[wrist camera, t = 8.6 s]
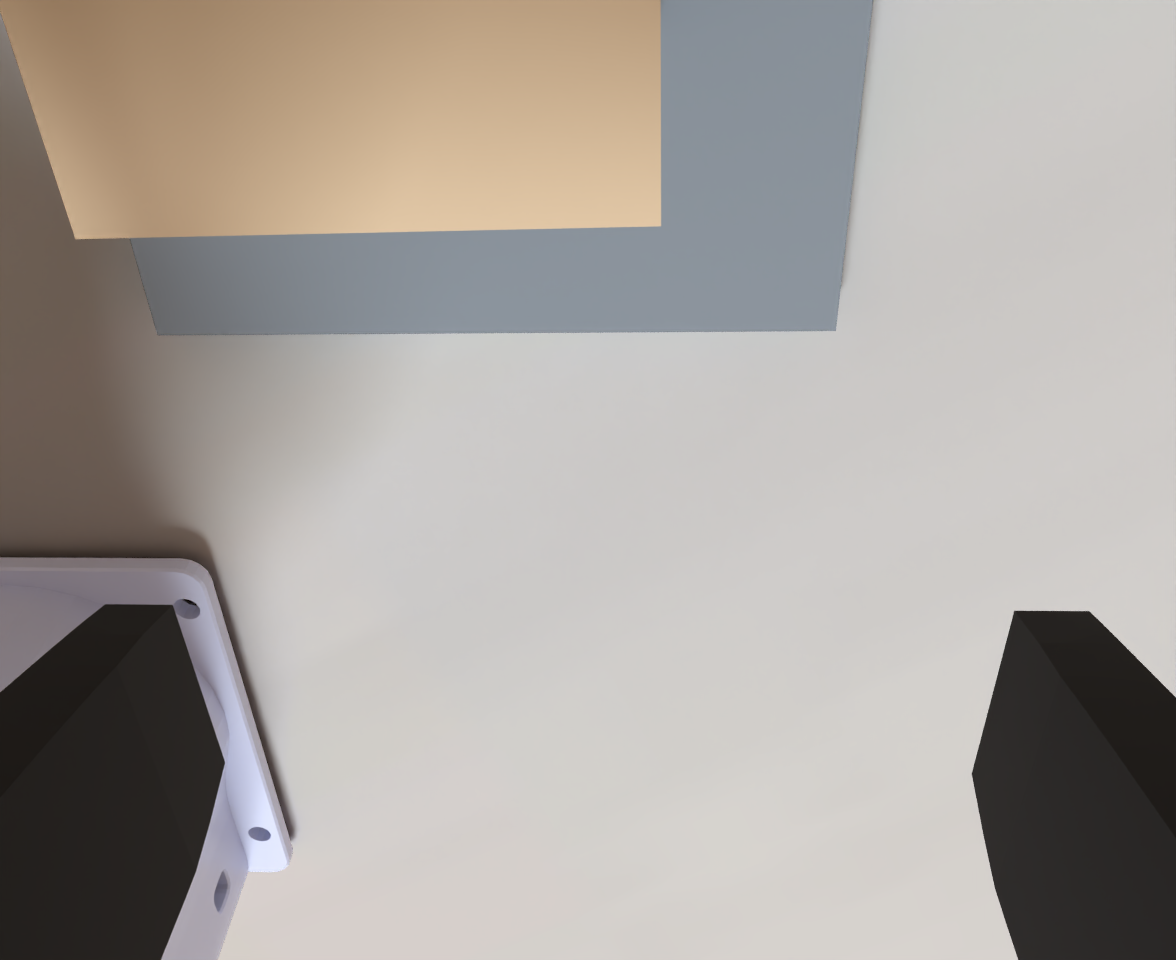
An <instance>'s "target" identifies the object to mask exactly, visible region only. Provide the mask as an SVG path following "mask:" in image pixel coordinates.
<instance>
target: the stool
mask: <svg viewBox="0 0 1176 960" xmlns="http://www.w3.org/2000/svg"><path fill="white" fill-rule="evenodd" d="M0 12H1V15H2V18H3V21H4V24H5V27H6V31H7V34H8V37H9V40H10V43H11V46H12V49H13V52H14V55H15V58H16V61H17V64H18V67H19V70H20V73H21V76H22V79H23V82H24V85H25V88H26V91H27V94H28V97H29V100H30V103H31V106H32V109H33V112H34V115H35V118H36V121H37V124H38V127H39V130H40V133H41V137H42V140H43V143H44V146H45V149H46V152H47V155H48V158H49V161H50V164H51V167H52V170H53V173H54V176H55V179H56V182H57V185H58V188H59V191H60V194H61V197H62V200H63V203H64V206H65V209H66V212H67V215H68V218H69V221H70V224H71V227H72V230H73V233H74V236H75V239H105V238H151V237H196V236H242V235H288V234H333V233H379V232H425V231H470V230H516V229H562V228H608V227H653V226H661V0H0Z"/></svg>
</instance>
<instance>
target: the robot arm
mask: <svg viewBox="0 0 1176 960" xmlns="http://www.w3.org/2000/svg"><path fill="white" fill-rule="evenodd" d="M183 599H187V600H191V601H193V602H194V603H196V604H197V605H198V606H195V605H190V604H188V603H187V602H185V601H184V600H183ZM972 777H973V782H974V787H975V793H976V798H977V803H978V808H979V814H980V819H981V824H982V829H983V834H984V839H985V844H986V848H987V853H988V858H989V862H990V867H991V872H992V876H993V881H994V885H995V889H996V892H997V896H998V899H999V902H1000V905H1001V908H1002V911H1003V914H1004V918H1005V921H1006V924H1007V927H1008V930H1009V933H1010V936H1011V939H1012V942H1013V945H1014V948H1015V951H1016V954H1017V957H1018V960H1176V697H1175V696H1174V695H1173V694H1172V693H1171V692H1170V691H1169V690H1168V689H1167V688H1166V687H1165V686H1164V685H1163V684H1162V683H1161V682H1160V681H1159V680H1158V679H1157V678H1156V677H1155V676H1154V675H1153V674H1152V673H1151V672H1150V671H1149V670H1148V669H1147V668H1146V667H1145V666H1144V665H1143V664H1142V663H1141V662H1140V661H1139V660H1138V659H1137V658H1136V657H1135V656H1134V655H1133V654H1132V653H1131V652H1130V651H1129V650H1128V649H1127V648H1126V647H1125V646H1124V645H1123V644H1122V643H1121V642H1120V641H1119V640H1118V639H1117V638H1116V637H1115V636H1114V635H1113V634H1112V633H1111V632H1110V631H1109V630H1108V629H1107V628H1106V627H1105V626H1104V625H1103V624H1102V623H1101V622H1100V621H1099V620H1098V619H1097V618H1096V617H1095V616H1094V615H1092V614H1091V613H1090V612H1089V611H1014V615H1013V619H1012V622H1011V626H1010V630H1009V634H1008V638H1007V641H1006V645H1005V649H1004V653H1003V657H1002V661H1001V664H1000V668H999V672H998V676H997V680H996V684H995V687H994V691H993V695H992V699H991V703H990V706H989V710H988V714H987V718H986V722H985V726H984V729H983V733H982V737H981V741H980V745H979V749H978V752H977V756H976V760H975V764H974V768H973V772H972ZM292 854H293V848H292V845H291V841H290V838H289V835H288V831H287V828H286V824H285V821H284V818H283V814H282V811H281V808H280V804H279V801H278V798H277V794H276V791H275V788H274V784H273V781H272V778H271V774H270V771H269V768H268V764H267V761H266V758H265V754H264V751H263V748H262V744H261V741H260V738H259V734H258V731H257V728H256V724H255V721H254V718H253V714H252V711H251V708H250V704H249V701H248V698H247V694H246V691H245V688H244V684H243V681H242V678H241V674H240V671H239V668H238V664H237V661H236V658H235V654H234V651H233V648H232V644H231V641H230V638H229V634H228V631H227V628H226V624H225V621H224V618H223V614H222V611H221V608H220V604H219V601H218V598H217V594H216V591H215V588H214V584H213V581H212V578H211V576H210V574H209V572H208V571H207V570H206V569H205V568H204V567H203V566H202V565H200V564H199V563H196V562H194V561H192V560H188V559H182V558H14V557H0V960H218V957H219V954H220V952H221V949H222V946H223V943H224V940H225V937H226V934H227V931H228V928H229V925H230V923H231V920H232V917H233V914H234V911H235V908H236V905H237V902H238V899H239V897H240V894H241V891H242V888H243V885H244V882H245V879H246V876H247V873H248V872H277V871H281V870H283V869H285V868H287V866H288V865H289V863H290V860H291V857H292Z"/></svg>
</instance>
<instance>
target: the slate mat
mask: <svg viewBox="0 0 1176 960" xmlns="http://www.w3.org/2000/svg"><path fill="white" fill-rule="evenodd" d="M872 4H873V0H661V226H653V227H608V228H562V229H516V230H470V231H425V232H379V233H333V234H288V235H242V236H196V237H151V238H130V241H131V245H132V248H133V252H134V255H135V259H136V262H137V266H138V269H139V273H140V276H141V280H142V283H143V286H144V290H145V293H146V297H147V300H148V304H149V307H150V311H151V314H152V318H153V321H154V325H155V328H156V331H157V335H277V334H434V333H590V332H746V331H836V324H837V315H838V306H839V297H840V288H841V280H842V271H843V262H844V253H845V244H846V235H847V226H848V217H849V209H850V200H851V191H852V182H853V173H854V164H855V155H856V146H857V138H858V129H859V120H860V111H861V102H862V93H863V84H864V75H865V67H866V58H867V49H868V40H869V31H870V22H871V13H872Z"/></svg>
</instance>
